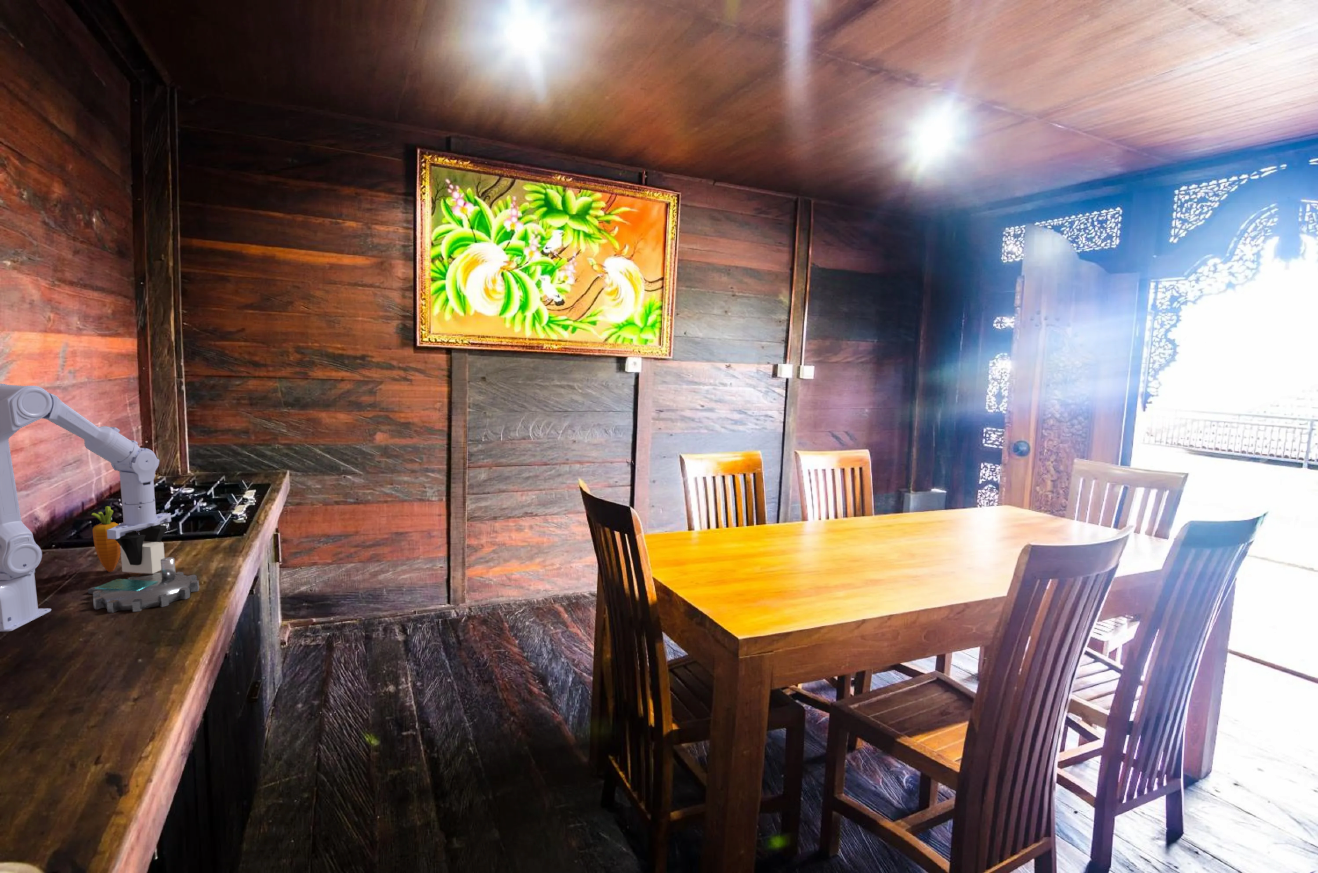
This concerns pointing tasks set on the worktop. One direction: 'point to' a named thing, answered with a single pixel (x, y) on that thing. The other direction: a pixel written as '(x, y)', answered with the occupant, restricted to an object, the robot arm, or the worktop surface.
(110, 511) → the carrot
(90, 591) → the timing pointer
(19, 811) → the worktop surface
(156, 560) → the white rectangular block
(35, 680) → the worktop surface
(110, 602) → the sprocket
